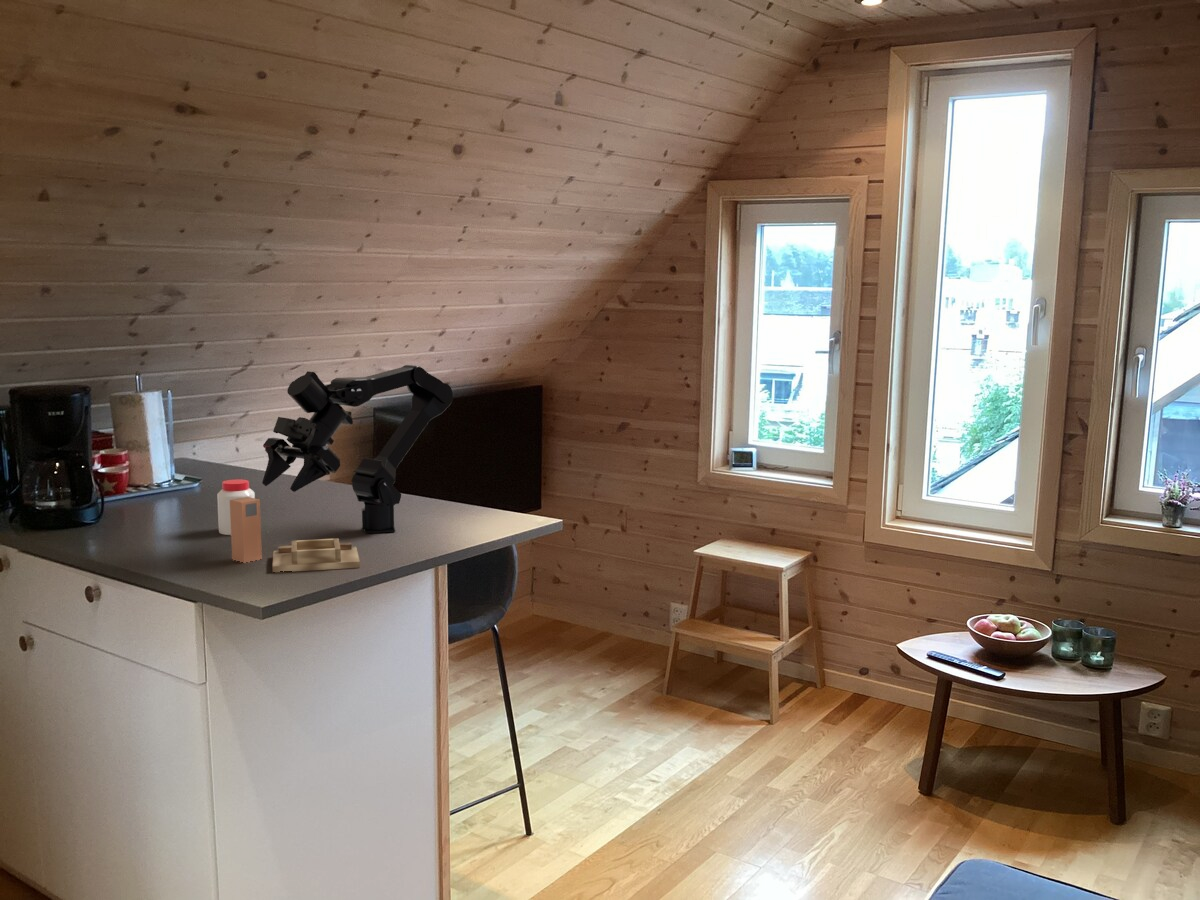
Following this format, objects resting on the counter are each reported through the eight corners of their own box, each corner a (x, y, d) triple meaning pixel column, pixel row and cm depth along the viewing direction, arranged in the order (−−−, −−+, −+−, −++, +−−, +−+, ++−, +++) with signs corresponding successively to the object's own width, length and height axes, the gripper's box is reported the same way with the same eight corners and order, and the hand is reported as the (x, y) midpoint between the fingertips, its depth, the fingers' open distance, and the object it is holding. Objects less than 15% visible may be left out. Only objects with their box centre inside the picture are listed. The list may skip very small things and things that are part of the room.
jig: (356, 552, 216) (355, 534, 216) (359, 567, 205) (359, 548, 204) (273, 556, 212) (273, 538, 211) (272, 572, 201) (272, 553, 200)
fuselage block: (249, 556, 212) (247, 496, 211) (262, 559, 210) (259, 499, 208) (232, 559, 209) (229, 499, 208) (244, 563, 207) (242, 502, 205)
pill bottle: (243, 525, 239) (241, 477, 237) (263, 530, 234) (261, 481, 232) (211, 531, 233) (209, 481, 231) (231, 536, 228) (229, 486, 226)
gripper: (269, 398, 221) (224, 457, 214) (326, 405, 210) (281, 468, 203) (302, 432, 228) (259, 490, 221) (359, 441, 217) (316, 502, 210)
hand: (277, 487), depth 214 cm, fingers open, 9 cm apart
